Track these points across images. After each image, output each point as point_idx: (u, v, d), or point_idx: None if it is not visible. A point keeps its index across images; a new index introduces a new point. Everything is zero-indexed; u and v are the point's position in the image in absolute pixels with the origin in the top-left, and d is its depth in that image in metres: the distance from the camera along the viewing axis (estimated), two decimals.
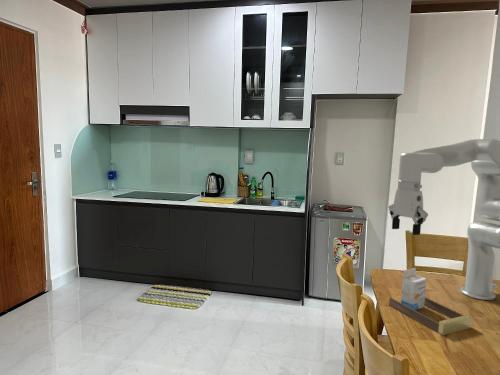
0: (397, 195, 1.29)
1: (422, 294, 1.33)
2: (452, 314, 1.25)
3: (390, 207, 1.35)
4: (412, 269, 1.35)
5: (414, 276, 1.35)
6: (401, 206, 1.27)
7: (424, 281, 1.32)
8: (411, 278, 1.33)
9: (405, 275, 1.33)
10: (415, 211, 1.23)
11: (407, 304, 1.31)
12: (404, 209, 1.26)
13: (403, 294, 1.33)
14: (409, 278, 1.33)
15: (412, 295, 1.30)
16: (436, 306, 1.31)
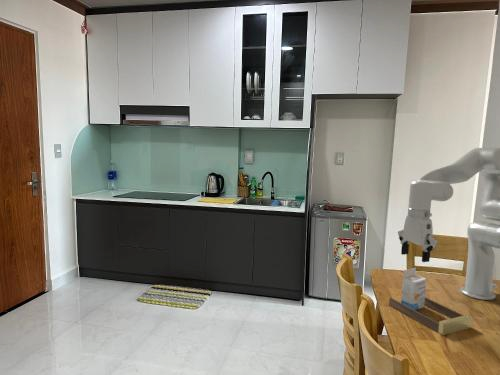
0: (407, 222, 1.32)
1: (422, 294, 1.33)
2: (452, 314, 1.25)
3: (399, 232, 1.38)
4: (412, 269, 1.35)
5: (414, 276, 1.35)
6: (411, 233, 1.30)
7: (424, 281, 1.32)
8: (411, 278, 1.33)
9: (405, 275, 1.33)
10: (425, 239, 1.26)
11: (407, 304, 1.31)
12: (414, 236, 1.29)
13: (403, 294, 1.33)
14: (409, 278, 1.33)
15: (412, 295, 1.30)
16: (436, 306, 1.31)
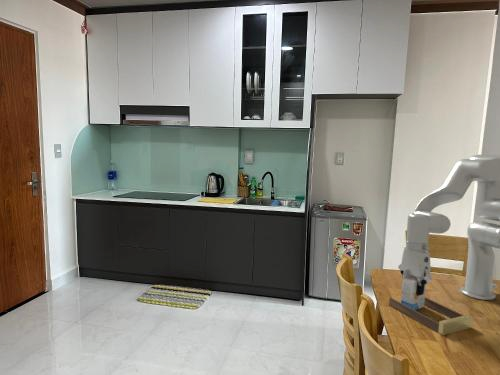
0: (405, 254, 1.34)
1: None
2: (452, 314, 1.25)
3: (400, 267, 1.38)
4: None
5: (414, 276, 1.35)
6: (409, 265, 1.32)
7: None
8: (411, 278, 1.33)
9: (405, 275, 1.33)
10: (422, 274, 1.27)
11: (407, 304, 1.31)
12: (412, 268, 1.31)
13: (403, 294, 1.33)
14: (409, 278, 1.33)
15: (412, 295, 1.30)
16: (436, 306, 1.31)
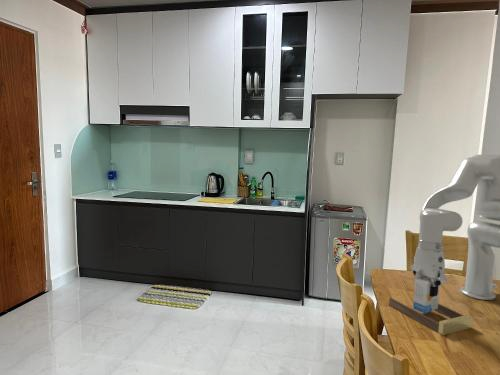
0: (417, 253, 1.28)
1: None
2: (452, 314, 1.25)
3: (412, 267, 1.33)
4: None
5: None
6: (422, 265, 1.26)
7: None
8: (424, 278, 1.27)
9: (417, 275, 1.28)
10: (436, 275, 1.22)
11: (420, 306, 1.26)
12: (425, 269, 1.25)
13: (416, 295, 1.27)
14: (422, 278, 1.27)
15: (425, 296, 1.24)
16: None
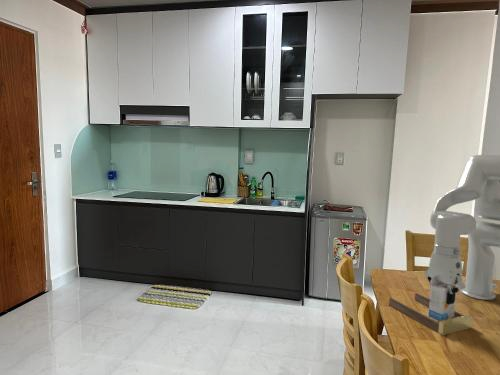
0: (433, 259, 1.22)
1: None
2: None
3: (426, 273, 1.27)
4: None
5: (442, 283, 1.24)
6: (438, 271, 1.20)
7: None
8: (440, 285, 1.21)
9: (433, 282, 1.22)
10: (453, 282, 1.16)
11: (436, 314, 1.20)
12: (441, 275, 1.19)
13: (431, 303, 1.21)
14: (438, 285, 1.21)
15: (442, 304, 1.18)
16: None
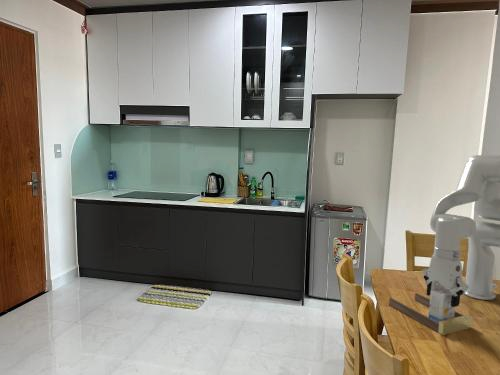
0: (433, 262, 1.22)
1: (452, 308, 1.21)
2: None
3: (424, 271, 1.28)
4: None
5: (443, 288, 1.24)
6: (438, 274, 1.20)
7: None
8: (440, 290, 1.21)
9: (433, 287, 1.22)
10: (454, 282, 1.16)
11: (435, 319, 1.20)
12: (441, 278, 1.19)
13: (431, 307, 1.21)
14: (437, 290, 1.21)
15: (441, 309, 1.18)
16: None
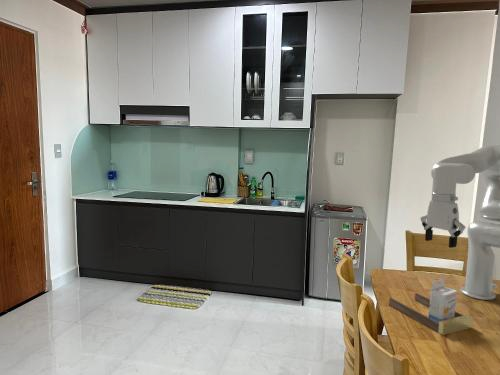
0: (431, 207, 1.28)
1: (452, 308, 1.21)
2: None
3: (422, 218, 1.33)
4: (440, 280, 1.24)
5: (443, 288, 1.24)
6: (436, 218, 1.26)
7: (454, 294, 1.21)
8: (440, 290, 1.21)
9: (433, 287, 1.22)
10: (451, 224, 1.22)
11: (435, 319, 1.20)
12: (439, 221, 1.25)
13: (431, 308, 1.21)
14: (438, 290, 1.21)
15: (441, 309, 1.18)
16: None
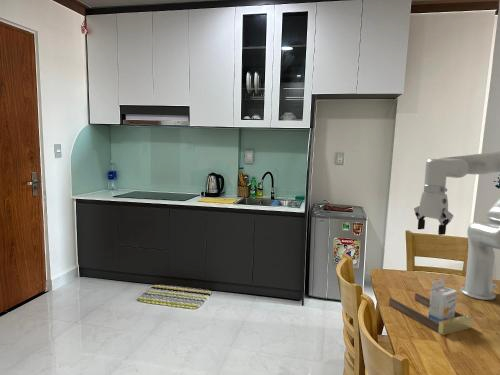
0: (423, 198, 1.40)
1: (452, 308, 1.21)
2: None
3: (416, 209, 1.45)
4: (440, 280, 1.24)
5: (443, 288, 1.24)
6: (427, 208, 1.38)
7: (454, 294, 1.21)
8: (440, 290, 1.21)
9: (433, 287, 1.22)
10: (441, 213, 1.33)
11: (435, 319, 1.20)
12: (430, 211, 1.37)
13: (431, 308, 1.21)
14: (438, 290, 1.21)
15: (441, 309, 1.18)
16: None
